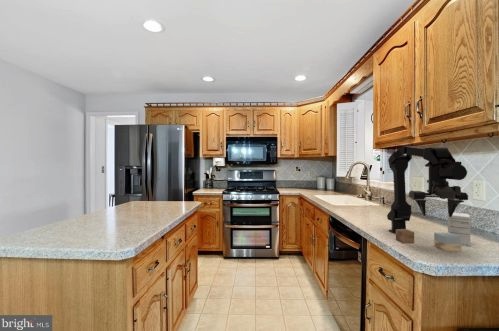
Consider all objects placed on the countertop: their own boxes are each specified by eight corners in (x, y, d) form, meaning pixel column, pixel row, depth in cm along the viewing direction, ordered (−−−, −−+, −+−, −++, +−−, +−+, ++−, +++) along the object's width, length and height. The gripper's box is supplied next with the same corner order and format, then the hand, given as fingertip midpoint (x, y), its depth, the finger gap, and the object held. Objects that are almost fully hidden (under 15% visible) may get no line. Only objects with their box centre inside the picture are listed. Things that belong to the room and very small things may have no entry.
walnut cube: (395, 240, 111) (395, 229, 111) (406, 239, 111) (406, 229, 111) (403, 243, 106) (403, 232, 106) (414, 243, 106) (414, 232, 106)
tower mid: (434, 239, 102) (434, 232, 102) (447, 239, 102) (447, 232, 102) (446, 244, 96) (446, 236, 96) (460, 243, 96) (460, 236, 96)
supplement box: (447, 239, 111) (447, 211, 111) (469, 242, 106) (469, 213, 106) (448, 243, 105) (447, 214, 105) (470, 246, 101) (470, 216, 101)
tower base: (434, 246, 102) (434, 239, 102) (447, 246, 102) (447, 239, 102) (446, 251, 96) (446, 244, 96) (461, 251, 96) (460, 244, 96)
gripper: (420, 179, 91) (420, 220, 92) (478, 179, 87) (478, 222, 88) (408, 177, 102) (408, 213, 103) (459, 177, 98) (458, 215, 99)
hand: (437, 216), depth 98 cm, fingers open, 9 cm apart
